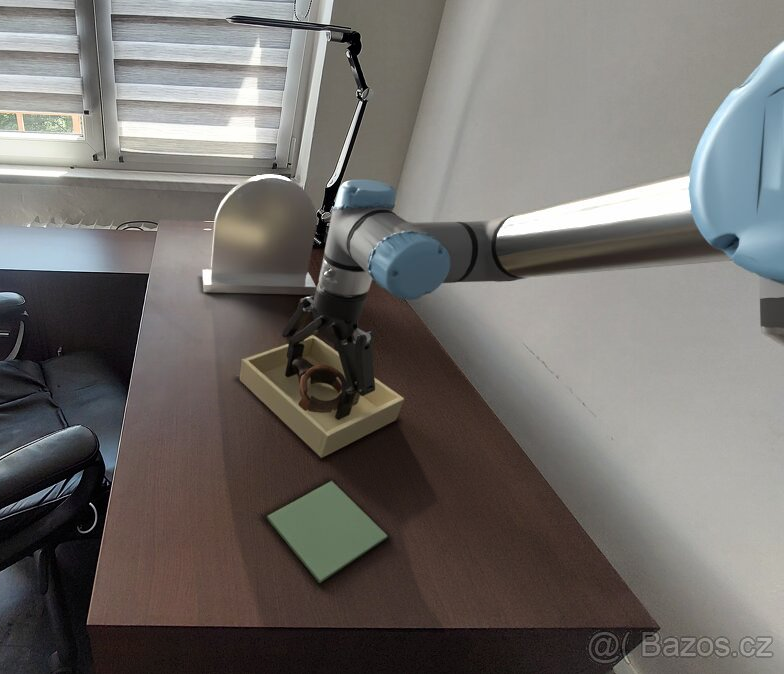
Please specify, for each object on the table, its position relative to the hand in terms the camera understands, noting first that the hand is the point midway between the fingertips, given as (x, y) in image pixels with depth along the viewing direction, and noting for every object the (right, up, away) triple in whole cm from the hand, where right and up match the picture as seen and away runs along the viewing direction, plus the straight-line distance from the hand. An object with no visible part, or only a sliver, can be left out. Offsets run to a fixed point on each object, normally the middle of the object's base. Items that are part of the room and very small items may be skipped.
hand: (315, 394), depth 82 cm
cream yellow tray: (0, -1, +1) cm, 1 cm away
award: (-5, +24, +37) cm, 44 cm away
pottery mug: (0, -1, +1) cm, 1 cm away
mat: (-5, -15, -21) cm, 26 cm away
